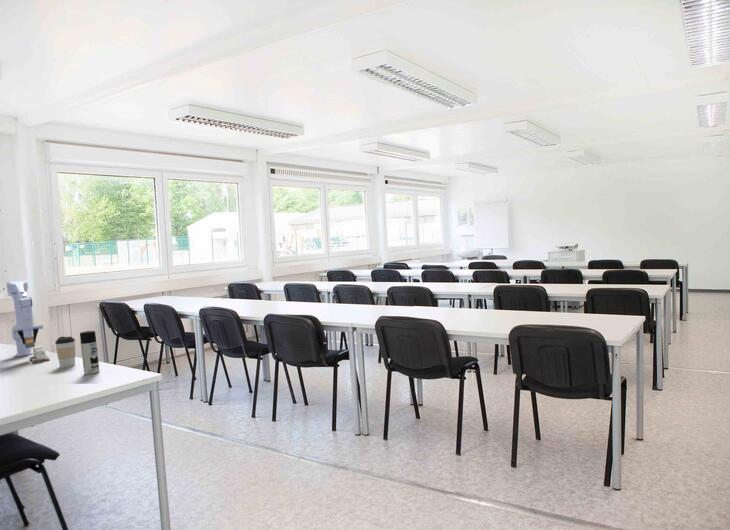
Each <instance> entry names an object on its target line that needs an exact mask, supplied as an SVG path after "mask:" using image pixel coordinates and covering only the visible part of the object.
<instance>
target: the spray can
mask: <svg viewBox="0 0 730 530" xmlns="http://www.w3.org/2000/svg"><path fill="white" fill-rule="evenodd" d="M79 337H80V339H79V340H80V348H81V356H82V365H83V374H84V375H95V374H98V373H100V364H99V363H100V362H99V354H98V343H97V336H96V331H95V330H87V331H82V332H80V333H79ZM94 373H95V374H94Z"/></svg>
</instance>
